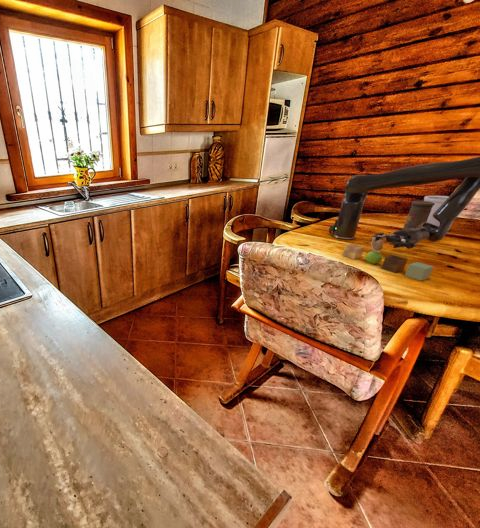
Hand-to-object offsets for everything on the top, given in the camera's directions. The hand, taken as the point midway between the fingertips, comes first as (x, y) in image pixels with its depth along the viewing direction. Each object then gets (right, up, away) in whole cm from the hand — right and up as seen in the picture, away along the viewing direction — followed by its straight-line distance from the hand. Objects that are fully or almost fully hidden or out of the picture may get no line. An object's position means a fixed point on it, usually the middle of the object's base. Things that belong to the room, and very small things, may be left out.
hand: (383, 242), depth 119 cm
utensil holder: (+65, +11, +40) cm, 77 cm away
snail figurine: (-4, -9, +2) cm, 10 cm away
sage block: (+2, -14, -12) cm, 19 cm away
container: (+44, +6, +31) cm, 54 cm away
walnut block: (-1, -11, -5) cm, 12 cm away
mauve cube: (-7, -6, +9) cm, 12 cm away
